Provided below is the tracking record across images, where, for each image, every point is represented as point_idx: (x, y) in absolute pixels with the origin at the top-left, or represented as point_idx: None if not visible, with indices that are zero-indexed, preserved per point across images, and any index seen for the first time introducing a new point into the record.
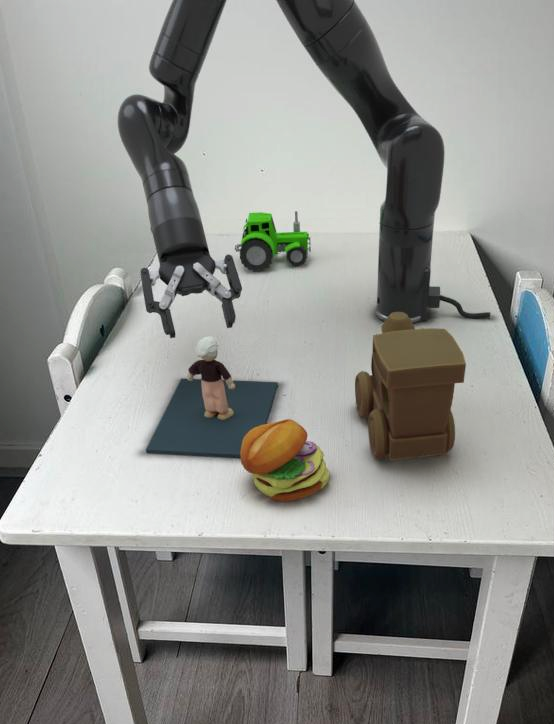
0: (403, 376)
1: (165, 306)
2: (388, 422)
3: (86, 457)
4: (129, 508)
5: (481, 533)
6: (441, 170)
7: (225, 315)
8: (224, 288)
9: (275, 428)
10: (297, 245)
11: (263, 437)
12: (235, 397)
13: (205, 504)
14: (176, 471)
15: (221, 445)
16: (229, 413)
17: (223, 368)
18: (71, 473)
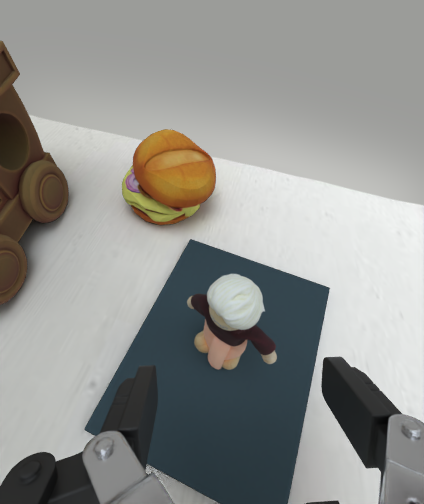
0: None
1: (397, 423)
2: (32, 158)
3: (412, 304)
4: (332, 207)
5: (53, 124)
6: None
7: (150, 403)
8: (100, 477)
9: (168, 157)
10: None
11: (186, 157)
12: (179, 393)
13: (256, 194)
14: (285, 246)
15: (227, 267)
16: (202, 331)
17: (203, 295)
18: (420, 276)
